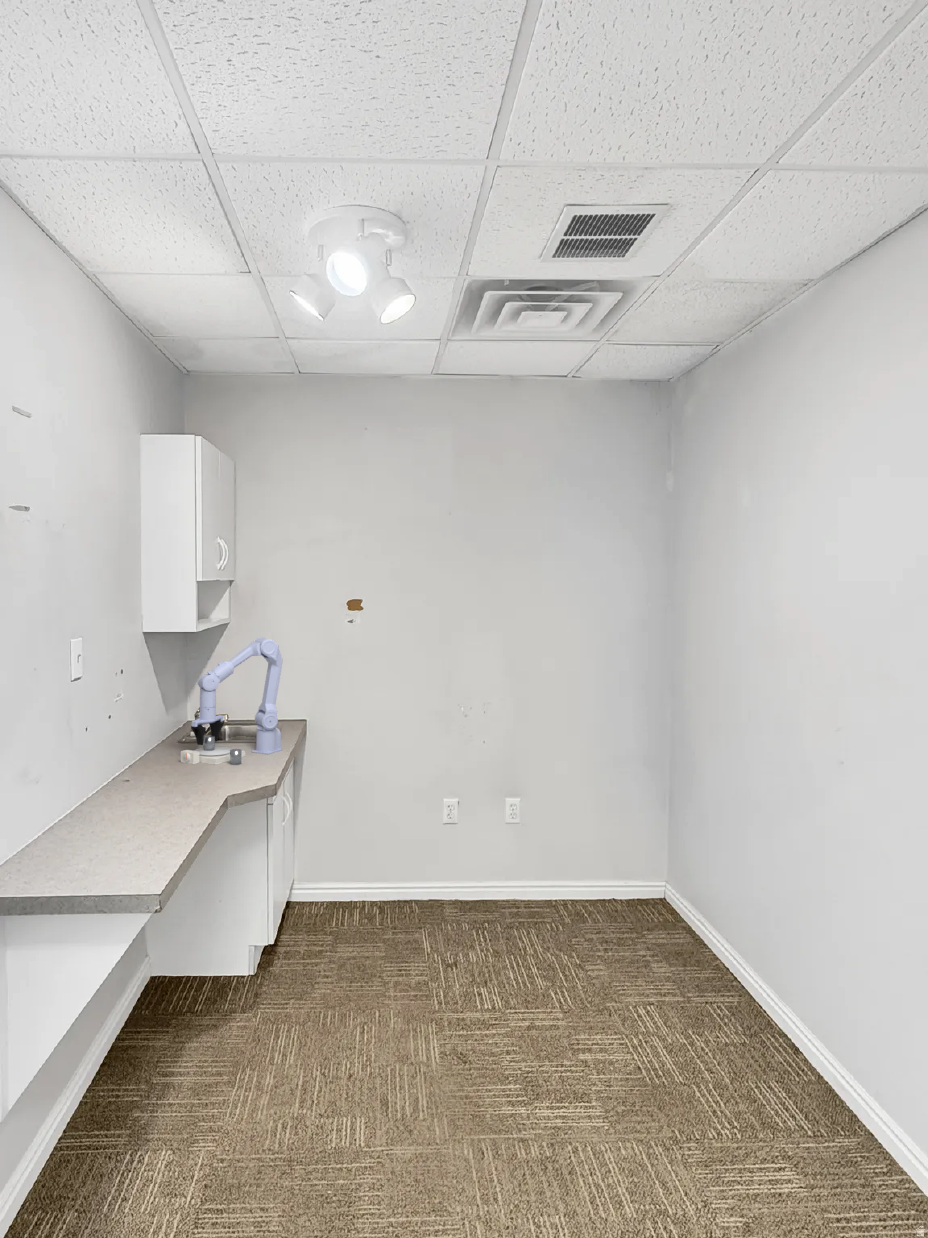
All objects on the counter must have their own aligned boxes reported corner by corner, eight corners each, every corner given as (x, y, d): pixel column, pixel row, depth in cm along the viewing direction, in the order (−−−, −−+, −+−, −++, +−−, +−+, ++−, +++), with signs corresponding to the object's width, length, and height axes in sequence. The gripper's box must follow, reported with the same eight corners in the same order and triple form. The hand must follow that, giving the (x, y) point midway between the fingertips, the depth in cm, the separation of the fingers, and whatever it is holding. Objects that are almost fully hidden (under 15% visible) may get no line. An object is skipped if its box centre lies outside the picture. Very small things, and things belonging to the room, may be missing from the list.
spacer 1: (208, 748, 315) (208, 734, 314) (216, 749, 313) (216, 735, 313) (201, 750, 311) (201, 736, 311) (210, 751, 309) (210, 737, 309)
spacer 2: (235, 762, 306) (235, 748, 305) (243, 763, 304) (243, 749, 304) (227, 764, 302) (227, 750, 302) (236, 765, 300) (236, 751, 300)
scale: (212, 751, 322) (212, 741, 322) (244, 756, 315) (245, 745, 315) (173, 761, 304) (173, 750, 304) (207, 766, 297) (207, 755, 297)
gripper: (213, 703, 320) (212, 738, 320) (185, 708, 307) (185, 745, 307) (227, 705, 317) (227, 740, 317) (200, 710, 304) (199, 747, 304)
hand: (207, 743), depth 312 cm, fingers open, 7 cm apart
